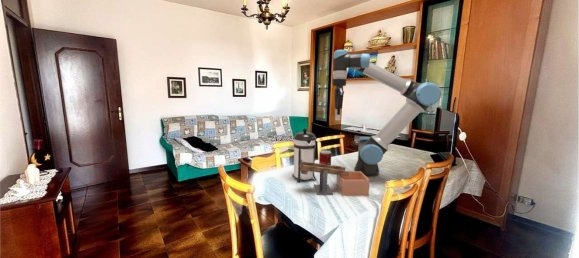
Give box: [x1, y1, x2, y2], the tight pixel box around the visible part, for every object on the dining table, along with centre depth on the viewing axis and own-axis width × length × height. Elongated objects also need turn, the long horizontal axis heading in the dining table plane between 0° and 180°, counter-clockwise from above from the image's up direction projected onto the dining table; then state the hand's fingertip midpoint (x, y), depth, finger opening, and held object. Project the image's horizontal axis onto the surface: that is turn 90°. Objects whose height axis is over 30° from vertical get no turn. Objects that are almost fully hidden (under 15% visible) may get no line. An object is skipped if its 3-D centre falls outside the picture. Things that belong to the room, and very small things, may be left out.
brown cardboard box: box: [335, 170, 371, 197], centre depth 124 cm, size 13×13×8 cm
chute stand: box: [313, 170, 334, 196], centre depth 123 cm, size 8×11×13 cm
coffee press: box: [291, 127, 317, 183], centre depth 139 cm, size 17×16×30 cm
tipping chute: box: [300, 159, 350, 176], centre depth 125 cm, size 24×13×6 cm, turn 92°
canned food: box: [318, 149, 332, 165], centre depth 161 cm, size 8×8×11 cm
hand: (337, 120), depth 139 cm, fingers closed
